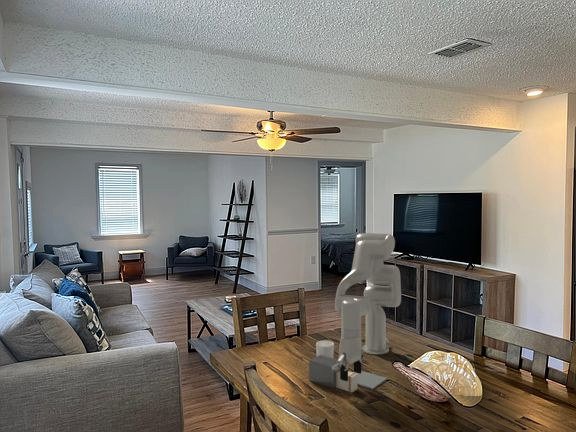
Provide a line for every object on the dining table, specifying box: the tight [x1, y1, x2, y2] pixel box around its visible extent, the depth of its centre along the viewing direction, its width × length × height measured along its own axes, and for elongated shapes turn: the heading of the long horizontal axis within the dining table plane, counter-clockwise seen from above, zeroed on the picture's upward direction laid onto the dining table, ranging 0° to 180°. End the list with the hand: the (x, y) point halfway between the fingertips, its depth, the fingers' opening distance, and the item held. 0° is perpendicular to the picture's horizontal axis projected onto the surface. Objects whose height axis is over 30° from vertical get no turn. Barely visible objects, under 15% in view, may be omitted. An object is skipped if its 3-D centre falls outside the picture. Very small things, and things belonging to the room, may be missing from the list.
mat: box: [353, 370, 388, 391], centre depth 178 cm, size 12×14×1 cm
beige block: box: [336, 369, 358, 393], centre depth 172 cm, size 4×12×6 cm, turn 50°
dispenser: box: [308, 355, 346, 390], centre depth 176 cm, size 8×12×9 cm, turn 50°
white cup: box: [315, 340, 335, 359], centre depth 193 cm, size 8×8×10 cm
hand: (350, 376), depth 168 cm, fingers open, 9 cm apart
